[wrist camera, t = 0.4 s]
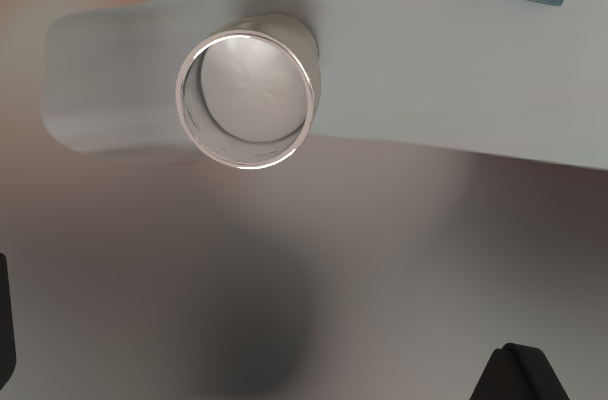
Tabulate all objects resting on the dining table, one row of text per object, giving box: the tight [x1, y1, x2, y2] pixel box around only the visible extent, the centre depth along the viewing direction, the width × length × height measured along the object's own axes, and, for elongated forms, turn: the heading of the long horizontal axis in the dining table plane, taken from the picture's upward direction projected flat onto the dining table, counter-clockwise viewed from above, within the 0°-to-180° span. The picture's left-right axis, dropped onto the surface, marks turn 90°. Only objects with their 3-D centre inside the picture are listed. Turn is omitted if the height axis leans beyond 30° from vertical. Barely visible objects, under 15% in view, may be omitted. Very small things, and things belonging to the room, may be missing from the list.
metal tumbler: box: [175, 13, 321, 169], centre depth 29 cm, size 7×7×15 cm
